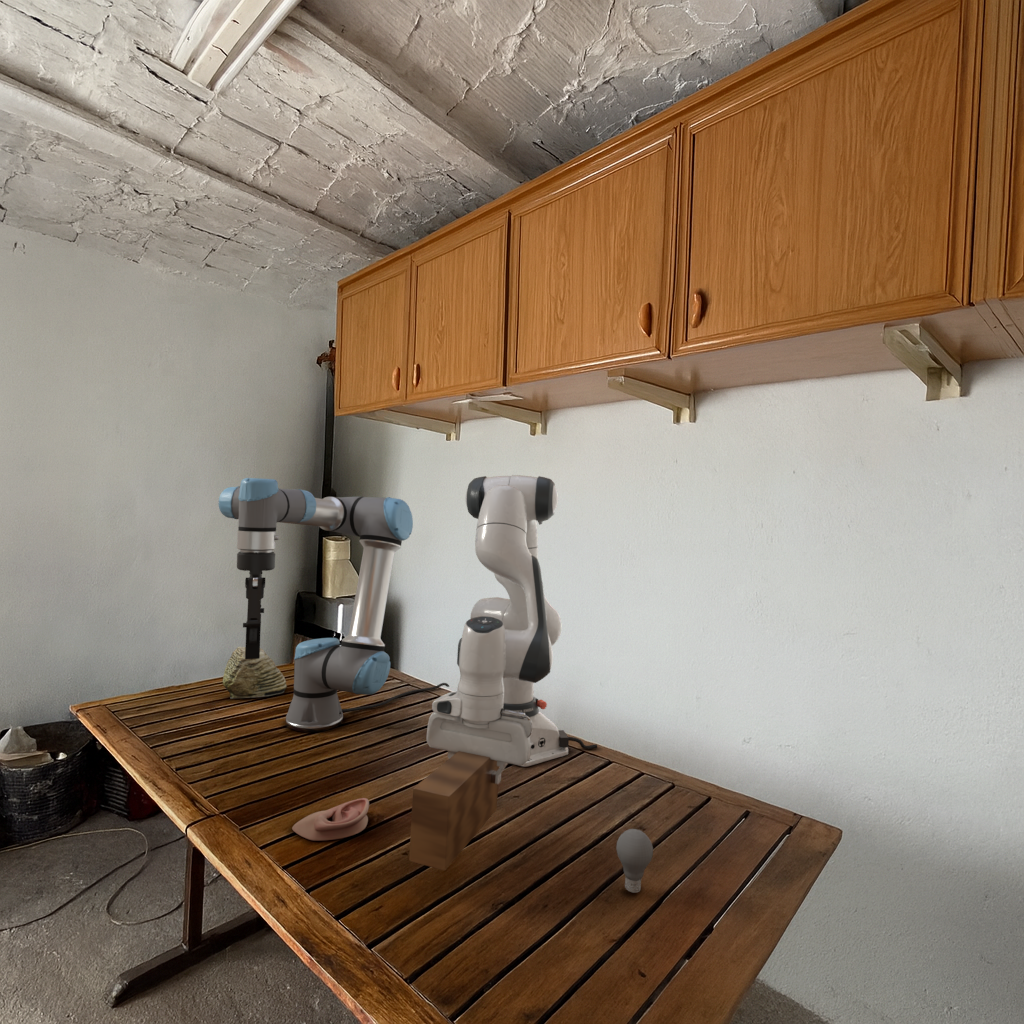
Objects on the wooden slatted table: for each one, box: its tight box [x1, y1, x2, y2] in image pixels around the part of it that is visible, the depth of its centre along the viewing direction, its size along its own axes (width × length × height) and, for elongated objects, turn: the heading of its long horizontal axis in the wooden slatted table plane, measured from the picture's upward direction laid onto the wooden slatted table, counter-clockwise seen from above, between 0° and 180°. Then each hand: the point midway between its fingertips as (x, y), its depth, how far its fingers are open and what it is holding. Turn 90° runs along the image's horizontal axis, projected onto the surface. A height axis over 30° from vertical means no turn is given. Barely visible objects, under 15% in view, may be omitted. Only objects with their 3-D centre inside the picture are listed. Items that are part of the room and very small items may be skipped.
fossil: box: [222, 646, 288, 699], centre depth 198 cm, size 9×18×15 cm, turn 132°
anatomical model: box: [291, 797, 370, 842], centre depth 122 cm, size 13×4×12 cm
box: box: [408, 751, 500, 872], centre depth 112 cm, size 23×6×12 cm, turn 160°
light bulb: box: [615, 828, 654, 894], centre depth 106 cm, size 6×6×10 cm
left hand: (252, 650), depth 135 cm, fingers open, 13 cm apart
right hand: (476, 778), depth 119 cm, fingers closed on box, 6 cm apart
